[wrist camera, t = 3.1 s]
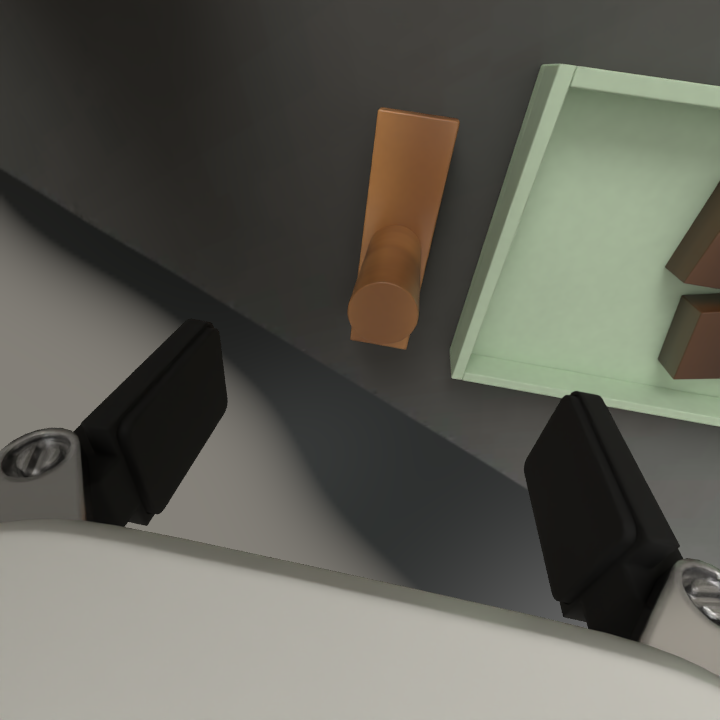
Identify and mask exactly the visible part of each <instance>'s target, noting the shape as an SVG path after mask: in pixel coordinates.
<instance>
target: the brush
mask: <svg viewBox="0 0 720 720" xmlns="http://www.w3.org/2000/svg"><path fill="white" fill-rule="evenodd" d="M459 124H460V123H459V120H458V119H456V118H450V117H443V116H436V115H430V114H423V113H417V112H410V111H404V110H397V109H390V108H384V107H381V108H380V109H379V110H378V115H377V123H376V131H375V140H374V148H373V156H372V164H371V172H370V181H369V189H368V197H367V205H366V213H365V221H364V230H363V238H362V246H361V254H360V262H359V271H358V278H357V281H356V284H355V287H354V290H353V293H352V295H351V298H350V301H349V304H348V318H349V321H350V324H351V326H352V328H351V336H350V339H351V340H355V341H360V342H366V343H372V344H377V345H383V346H388V347H394V348H399V349H406V348H407V344H408V340H409V336H410V334H411V333H412V332H413V330H414V329H415V327H416V325H417V322H418V317H419V296H420V289H421V285H422V281H423V276H424V272H425V268H426V264H427V259H428V255H429V251H430V247H431V242H432V238H433V234H434V230H435V225H436V221H437V217H438V213H439V208H440V204H441V200H442V196H443V191H444V187H445V183H446V179H447V174H448V170H449V166H450V162H451V157H452V153H453V149H454V145H455V141H456V136H457V132H458V128H459Z"/></svg>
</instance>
